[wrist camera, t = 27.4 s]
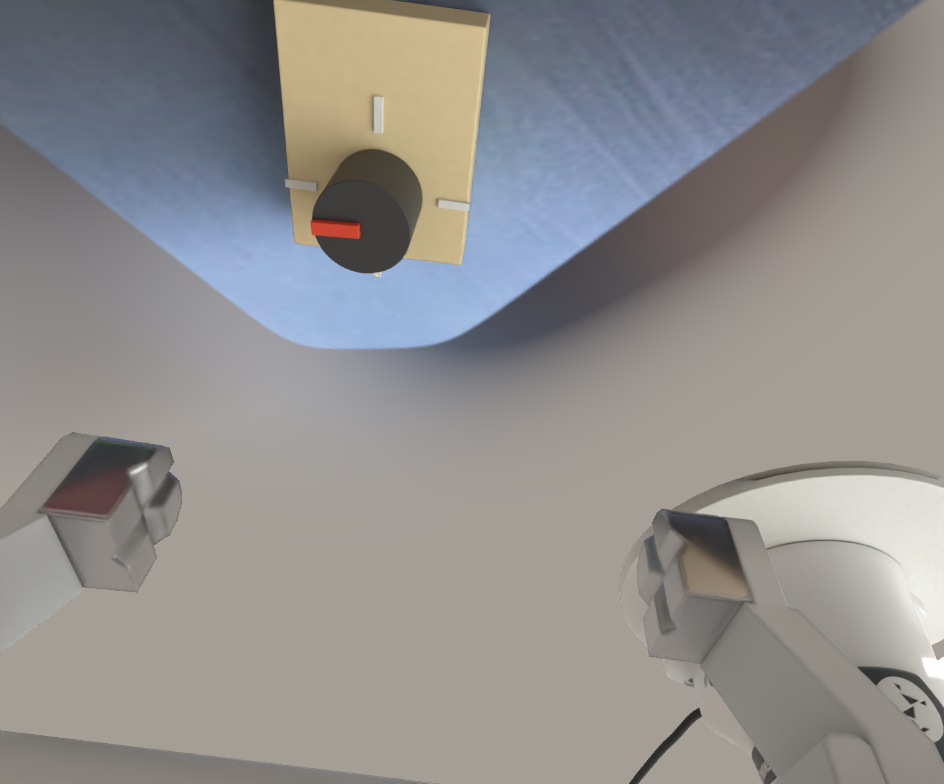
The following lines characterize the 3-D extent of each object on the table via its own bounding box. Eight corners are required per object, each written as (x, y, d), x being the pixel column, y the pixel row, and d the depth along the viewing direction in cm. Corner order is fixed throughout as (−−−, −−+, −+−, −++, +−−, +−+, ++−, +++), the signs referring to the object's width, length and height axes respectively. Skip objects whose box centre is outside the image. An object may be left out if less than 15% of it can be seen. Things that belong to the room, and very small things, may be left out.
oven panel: (466, 257, 33) (460, 288, 30) (310, 236, 32) (292, 266, 30) (493, 13, 25) (489, 28, 23) (293, -14, 25) (268, -2, 23)
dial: (422, 152, 26) (409, 187, 23) (422, 240, 29) (410, 281, 26) (328, 144, 26) (303, 179, 23) (337, 232, 29) (315, 273, 26)
